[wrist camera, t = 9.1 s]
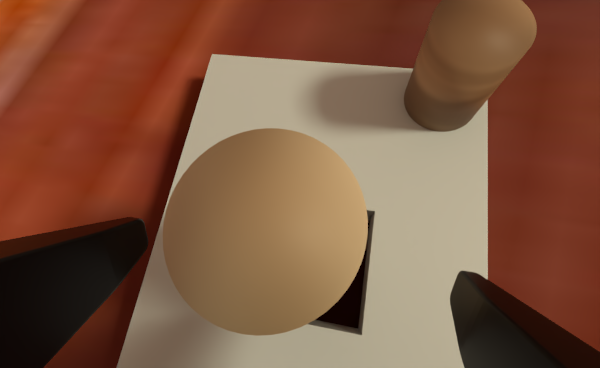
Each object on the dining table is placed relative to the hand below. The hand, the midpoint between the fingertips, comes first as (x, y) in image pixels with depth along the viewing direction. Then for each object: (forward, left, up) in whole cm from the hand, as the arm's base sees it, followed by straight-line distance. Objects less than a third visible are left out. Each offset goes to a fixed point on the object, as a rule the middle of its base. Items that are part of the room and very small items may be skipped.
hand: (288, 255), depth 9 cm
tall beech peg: (0, 0, -10) cm, 10 cm away
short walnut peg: (+11, +4, -7) cm, 14 cm away
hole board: (+2, +2, -10) cm, 10 cm away
